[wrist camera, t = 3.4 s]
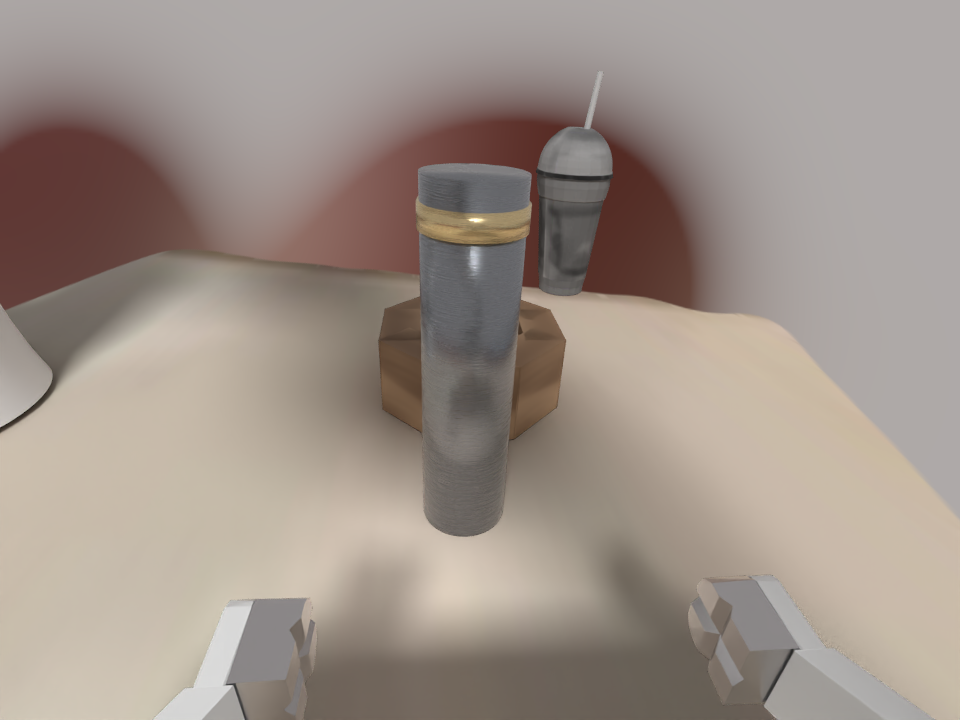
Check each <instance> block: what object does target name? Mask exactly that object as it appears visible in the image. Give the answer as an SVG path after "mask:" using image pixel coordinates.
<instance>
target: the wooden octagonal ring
mask: <svg viewBox="0 0 960 720" xmlns="http://www.w3.org/2000/svg"><path fill="white" fill-rule="evenodd" d="M378 341H379V357H380V374H381V390H382V406H383V410H385V411H386V412H388V413H390V414H391V415H393V416H395V417H396V418H398V419H400V420H401V421H403V422H405V423H406V424H408V425H410V426H412V427H413V428H415V429H417V430H418V431H420V432H422V374H421V312H420V297H417V298H414V299H412V300H409V301H406V302H403V303H400V304H398V305H395V306H392V307H389V308H386V309H385V312H384V317H383V322H382V327H381V332H380V337H379V340H378ZM565 345H566V339H565V337H564V336H563V334H562V332H561V330H560V328H559V326H558V324H557V322H556V320H555V318H554V316H553V314H552V312H551V310H549V309H546V308H543V307H541V306H538V305H535V304H532V303H529V302H526V301H523V300H521V303H520V315H519V326H518V338H517V350H516V362H515V373H514V385H513V397H512V408H511V420H510V432H509V439H515V438H516V437H518V436H519V435H520V434H522V433H523V432H524V431H526V430H527V429H528V428H530V427H531V426H532V425H534V424H535V423H536V422H538V421H539V420H540V419H542V418H543V417H544V416H546V415H547V414H548V413H550V412H551V411H552V410H554V409H555V408H557V403H558V396H559V388H560V381H561V374H562V367H563V359H564V352H565Z"/></svg>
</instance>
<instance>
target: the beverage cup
mask: <svg viewBox="0 0 960 720" xmlns="http://www.w3.org/2000/svg"><path fill="white" fill-rule="evenodd" d="M602 77H603V72H601V71H598V73H597V77H596V81H595V85H594V89H593V94H592V98H591V102H590V106H589V110H588V115H587V119H586V123H585V127H567V128H565V129H563V130H561V131H559V132H558V133H557V134H555V136H553V137H552V138H551V139H550V140H549V141H548V143H547V144H546V146H545V147H544V149H543V151H542V153H541V156H540V159H539V164H538V168H537V170H536V173H538V175H537V185H538V193H539V260H538V262H539V264H538V272H539V288H540V289H541V290H542V291H544V292H547V293H550V294H554V295H561V296H569V295H575V294H578V293H580V292H581V289H582V285H583V281H584V278H585V275H586V271H587V267H588V263H589V259H590V255H591V251H592V246H593V242H594V238H595V234H596V229H597V225H598V221H599V217H600V212H601V208H602V204H603V200H604V199H605V197H606V194H607V192H608V189H609V185H610V179H611V178H613V172H612V156H611V152H610V149H609V146H608V144H607V142H606V141H605V139H604V138H603V137H602V136H601V135H600V134H599V133H598V132H597V131H595V130H593V129H591V128H590V126H591V122H592V118H593V114H594V110H595V106H596V101H597V97H598V93H599V89H600V85H601V81H602Z"/></svg>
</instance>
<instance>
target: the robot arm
mask: <svg viewBox="0 0 960 720" xmlns="http://www.w3.org/2000/svg"><path fill="white" fill-rule="evenodd" d="M52 378H53V374H52V370H51V368H50V367H49V366H48V365H47V364H46V363H45V362H44V360H43V359H42V358H41V357H40V356H39V355H38V354H37V353H36V352H35V351H34V349H33V348H32V347H31V346H30V345H29V343H28V342H27V341H26V340H25V338H24V337H23V336H22V334H21V333H20V332H19V330H18V329H17V328H16V326H15V325H14V323H13V322H12V321H11V319H10V318H9V316H8V315H7V313H6V312H5V310H4V309H3V307H2V306H1V305H0V427H2V426H4V425H5V424H7V423H9V422H10V421H12V420H13V419H15V418H16V417H18V416H19V415H21V414H22V413H24V412H25V411H26V410H28V409H29V408H30V407H31V406H33V405H34V404H35V403H36V402H37V401H38V400H39V399H40V398H41V397H42V396H43V395H44V394H45V392H46V391H47V390H48V388H49V386H50V385H51V382H52ZM696 590H697V592H698V594H699V597H698V598H697V599H696V600H694V601H693V602H692V603H691V605H690V608H689V611H688V624H689V630H690V633H691V637H692V639H693V642H694V644H695V646H696V648H697V650H698V651H699V652H700V653H701V654H703V655H704V656H705V657H706V658H707V659H708V660H709V666H708V671H707V672H708V674H709V676H710V678H711V680H712V682H713V685H714V687H715V689H716V691H717V693H718V695H719V697H720V699H721V701H722V704H723V705H747V704H764V707H765V708H766V709H767V710H768V711H769V712H770V713H771V714H772V715H773V716H774V717H775V718H776V719H777V720H935V719H934V718H932V717H931V716H929V715H928V714H927V713H925V712H924V711H922V710H921V709H919V708H918V707H917V706H915V705H914V704H912V703H911V702H910V701H908V700H907V699H905V698H904V697H902V696H901V695H900V694H898V693H897V692H895V691H894V690H893V689H891V688H890V687H888V686H887V685H885V684H884V683H883V682H881V681H880V680H878V679H877V678H875V677H874V676H873V675H871V674H870V673H868V672H867V671H866V670H864V669H863V668H861V667H860V666H858V665H857V664H856V663H854V662H853V661H851V660H850V659H849V658H847V657H846V656H844V655H843V654H841V653H840V652H839V651H837V650H836V649H834V648H826V647H825V645H824V644H823V642H822V641H821V640H820V638H819V637H818V635H817V634H816V633H815V631H814V630H813V628H812V627H811V625H810V624H809V623H808V621H807V620H806V618H805V617H804V615H803V614H802V613H801V611H800V610H799V608H798V607H797V606H796V604H795V603H794V601H793V600H792V598H791V597H790V596H789V594H788V593H787V591H786V590H785V588H784V587H783V586H782V584H781V583H780V581H779V580H778V579H777V578H775V577H774V576H773V575H757V576H746V575H744V576H729V577H713V578H703V579H702V580H700V581H699V583H698V586H697V588H696ZM312 609H313V607H312V603H311V599H310V598H282V599H246V600H230V601H229V603H228V604H227V605H226V607H225V608H224V610H223V612H222V615H221V617H220V620H219V622H218V625H217V627H216V630H215V633H214V635H213V638H212V640H211V643H210V645H209V648H208V650H207V653H206V655H205V658H204V660H203V663H202V665H201V668H200V670H199V673H198V676H197V678H196V681H195V683H194V686H193V687H189V688H184V689H183V690H182V691H181V692H180V693H179V694H178V695H177V696H176V697H175V698H174V699H173V700H172V701H171V702H170V703H169V704H168V705H167V706H166V707H165V708H164V709H163V710H162V711H160V712H159V713H158V714H157V715H156V716H155V717H154V718H153V719H152V720H303V718H304V713H305V709H306V704H307V699H308V697H307V692H306V687H305V682H306V681H307V679H308V678H309V677H310V676H311V675H312V674H313V669H314V663H315V658H316V647H317V630H316V624H315V622H314V621H312V620H311V619H310V618H311V614H312Z"/></svg>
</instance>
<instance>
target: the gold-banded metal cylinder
mask: <svg viewBox="0 0 960 720" xmlns="http://www.w3.org/2000/svg"><path fill="white" fill-rule="evenodd" d="M418 182H419V183H418V187H419V188H418V189H419V196H418V197H417V198H416V228H417V230H418V231H419V251H420V312H421V374H422V436H423V498H424V513H425V516H426V518H427V519H428V521H429V522H430V523H431V524H432V525H433V526H434V527H435V528H436V529H438V530H440V531H442V532H444V533H446V534H449V535H454V536H474V535H478V534H481V533H484V532H486V531H488V530H489V529H491V528H492V527H494V526H495V525H496V524H497V522H498V521H499V520H500V518H501V516H502V512H503V502H504V490H505V479H506V467H507V455H508V443H509V432H510V420H511V408H512V397H513V385H514V373H515V362H516V350H517V338H518V326H519V315H520V303H521V291H522V279H523V268H524V267H523V266H524V256H525V245H526V236H527V235H528V234H529V229H530V218H531V207H532V203H531V202H530V201H529V198H530V186H531V174H530V173H529V172H527V171H524V170H521V169H516V168H512V167H505V166H497V165H487V164H459V163H458V164H437V165H429V166H425V167H422V168H420V169H419V170H418Z"/></svg>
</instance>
